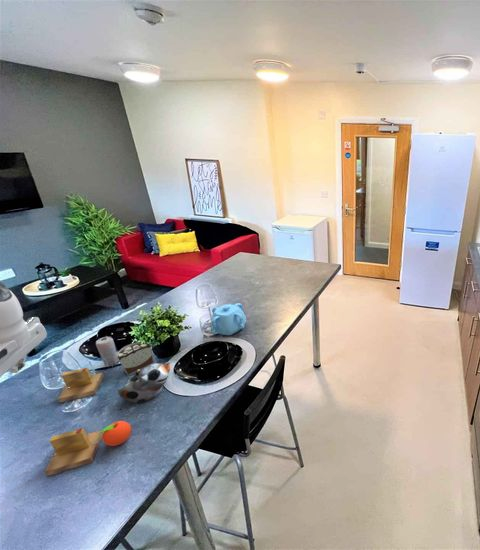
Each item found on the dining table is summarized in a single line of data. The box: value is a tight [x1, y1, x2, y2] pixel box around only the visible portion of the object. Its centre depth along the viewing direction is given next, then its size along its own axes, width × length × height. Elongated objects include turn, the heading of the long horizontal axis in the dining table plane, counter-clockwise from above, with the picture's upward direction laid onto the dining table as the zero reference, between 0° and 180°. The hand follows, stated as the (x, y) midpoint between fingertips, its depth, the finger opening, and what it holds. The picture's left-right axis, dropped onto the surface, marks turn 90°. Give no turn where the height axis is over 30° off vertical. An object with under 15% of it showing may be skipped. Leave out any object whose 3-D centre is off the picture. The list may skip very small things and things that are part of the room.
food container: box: [116, 341, 155, 376], centre depth 120 cm, size 12×6×10 cm, turn 144°
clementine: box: [97, 420, 132, 447], centre depth 90 cm, size 8×7×7 cm
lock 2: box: [61, 367, 94, 389], centre depth 108 cm, size 7×2×7 cm, turn 115°
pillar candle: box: [95, 336, 120, 367], centre depth 121 cm, size 5×5×12 cm
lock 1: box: [49, 428, 91, 456], centre depth 85 cm, size 7×2×7 cm, turn 115°
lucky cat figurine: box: [117, 361, 171, 404], centre depth 108 cm, size 15×12×14 cm
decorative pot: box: [210, 302, 247, 336], centre depth 146 cm, size 16×16×14 cm
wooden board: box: [44, 429, 104, 477], centre depth 87 cm, size 11×10×2 cm
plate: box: [57, 372, 105, 403], centre depth 110 cm, size 11×10×2 cm
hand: (18, 369), depth 89 cm, fingers closed
